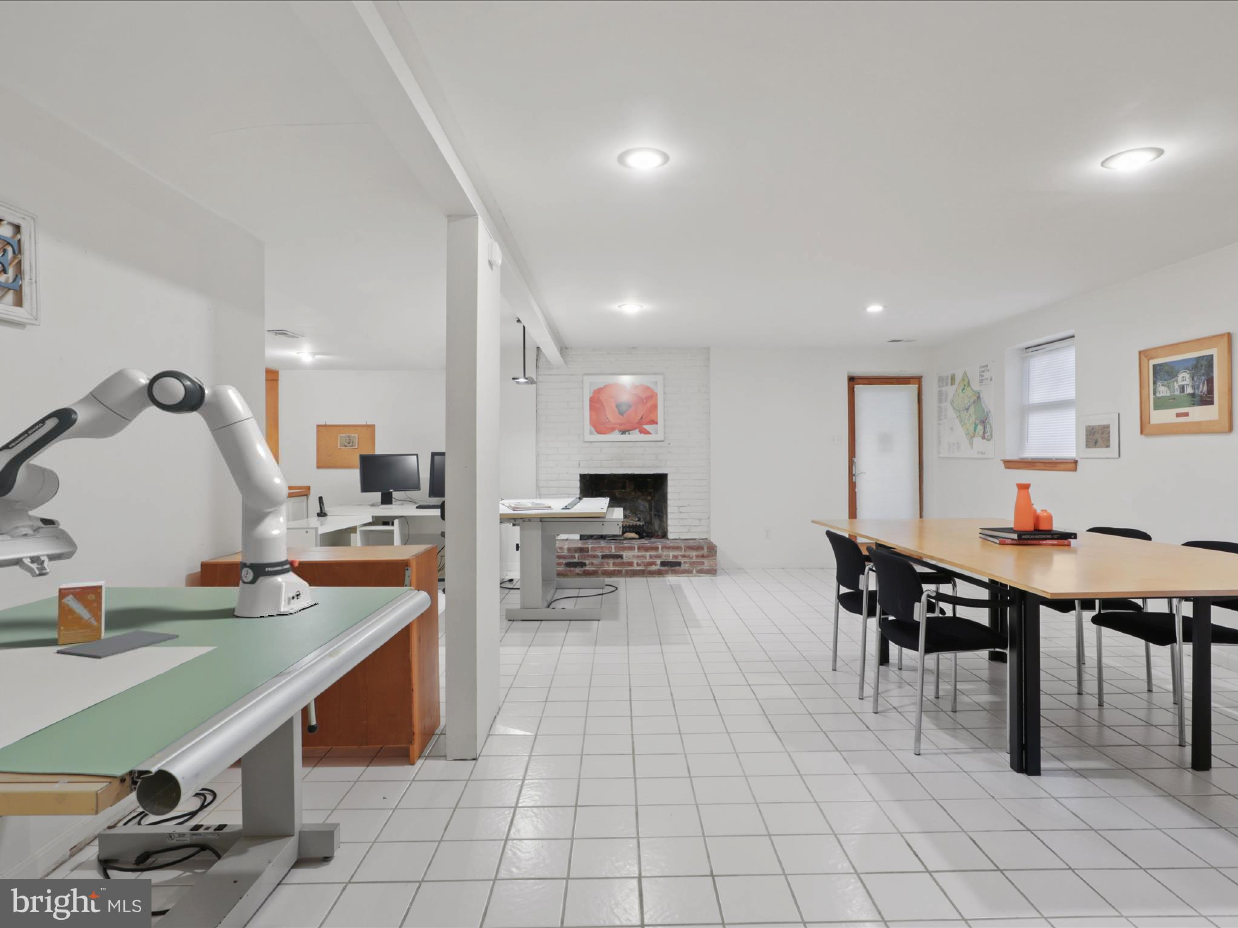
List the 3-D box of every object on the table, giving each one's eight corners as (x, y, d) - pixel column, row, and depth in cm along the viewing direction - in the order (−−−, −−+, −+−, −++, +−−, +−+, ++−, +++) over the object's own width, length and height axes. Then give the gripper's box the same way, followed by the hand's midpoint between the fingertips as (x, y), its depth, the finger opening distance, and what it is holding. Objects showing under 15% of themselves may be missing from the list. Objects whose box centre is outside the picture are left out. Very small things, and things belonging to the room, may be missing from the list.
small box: (57, 645, 151) (57, 587, 151) (61, 639, 157) (61, 583, 156) (102, 640, 156) (102, 584, 156) (105, 634, 161) (105, 580, 161)
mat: (137, 632, 163) (137, 630, 163) (178, 636, 159) (178, 634, 159) (56, 652, 146) (56, 650, 146) (100, 658, 142) (101, 655, 142)
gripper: (-33, 526, 152) (-4, 572, 149) (64, 519, 172) (92, 559, 169) (-47, 545, 153) (-17, 591, 151) (52, 536, 173) (79, 576, 170)
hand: (41, 574), depth 160 cm, fingers closed
